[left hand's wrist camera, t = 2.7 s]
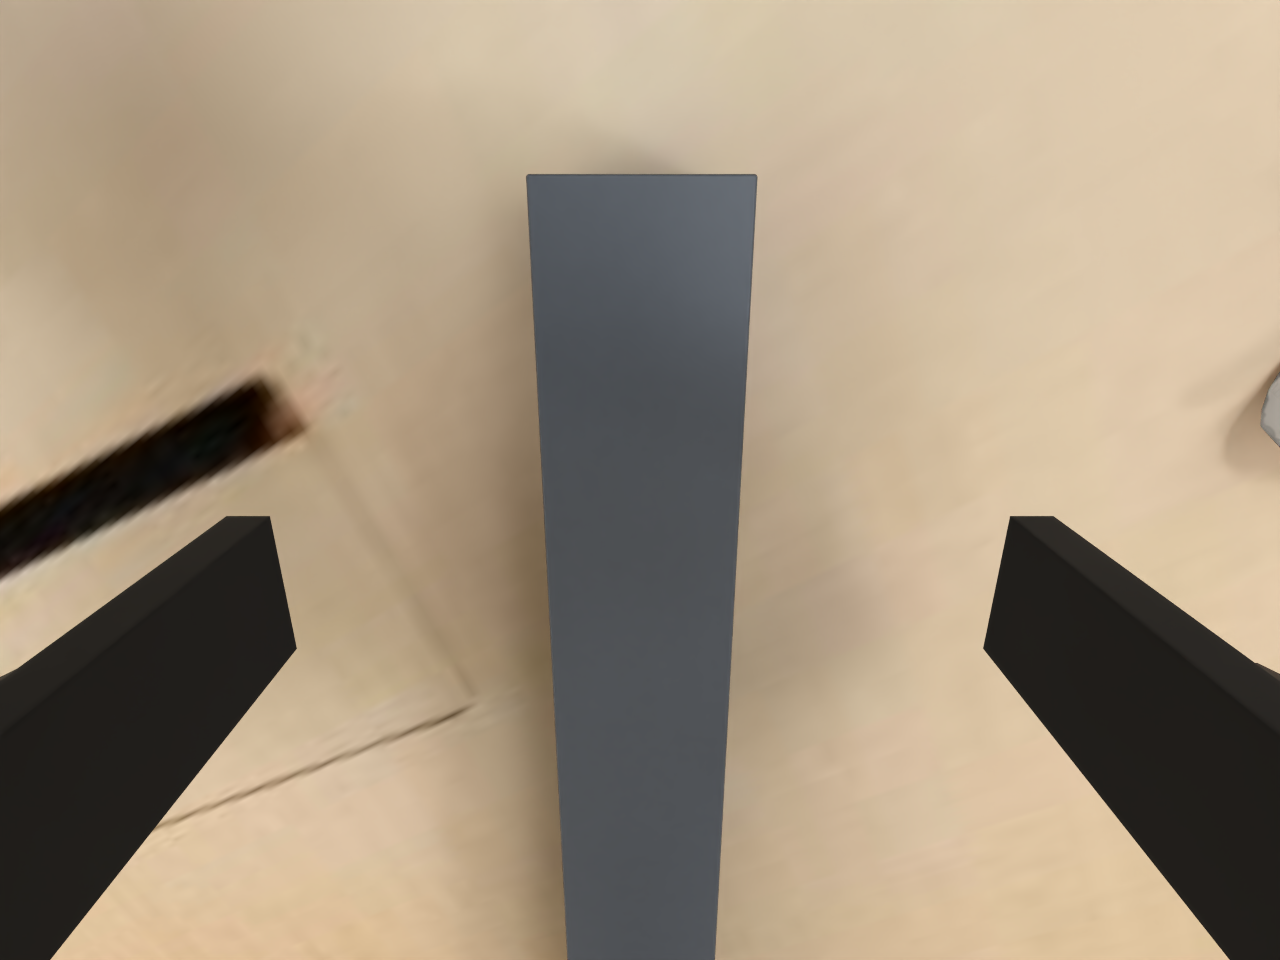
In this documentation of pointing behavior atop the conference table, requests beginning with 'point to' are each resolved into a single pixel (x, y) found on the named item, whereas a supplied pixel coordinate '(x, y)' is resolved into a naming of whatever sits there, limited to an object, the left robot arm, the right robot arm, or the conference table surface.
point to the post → (641, 537)
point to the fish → (1272, 411)
